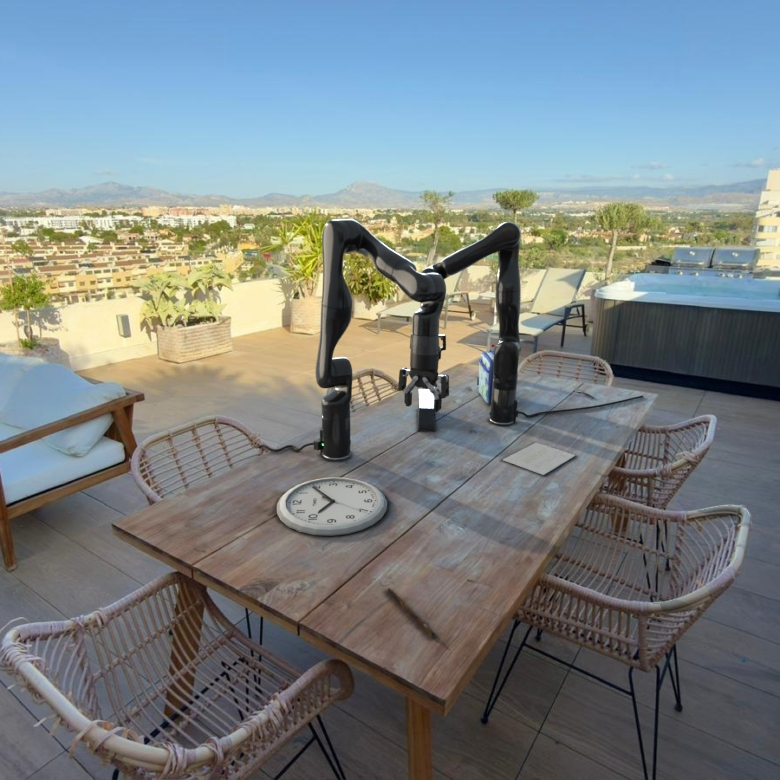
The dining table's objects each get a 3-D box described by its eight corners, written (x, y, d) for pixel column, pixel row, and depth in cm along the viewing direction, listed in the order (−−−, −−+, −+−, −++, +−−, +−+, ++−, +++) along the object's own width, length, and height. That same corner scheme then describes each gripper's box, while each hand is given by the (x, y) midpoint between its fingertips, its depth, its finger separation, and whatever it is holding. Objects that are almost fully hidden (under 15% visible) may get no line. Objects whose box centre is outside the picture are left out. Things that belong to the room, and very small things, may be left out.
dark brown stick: (387, 592, 109) (387, 587, 109) (388, 591, 109) (388, 587, 109) (431, 637, 97) (431, 633, 97) (433, 636, 97) (433, 632, 97)
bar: (417, 409, 219) (418, 388, 216) (432, 410, 218) (433, 389, 216) (418, 431, 196) (419, 408, 193) (434, 431, 196) (435, 408, 193)
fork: (592, 399, 235) (592, 395, 235) (571, 389, 250) (572, 385, 249) (597, 399, 236) (597, 394, 235) (576, 388, 251) (576, 384, 250)
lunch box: (475, 390, 246) (478, 346, 240) (498, 390, 246) (501, 347, 240) (484, 408, 221) (487, 360, 215) (509, 409, 221) (513, 360, 215)
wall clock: (392, 527, 129) (268, 531, 127) (391, 533, 130) (269, 537, 127) (383, 473, 158) (282, 475, 155) (383, 478, 158) (282, 480, 156)
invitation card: (535, 442, 186) (575, 454, 176) (535, 442, 187) (575, 455, 176) (502, 459, 172) (543, 474, 162) (502, 460, 172) (543, 475, 162)
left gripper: (394, 349, 138) (393, 407, 143) (443, 357, 131) (440, 417, 136) (407, 344, 144) (406, 400, 149) (455, 351, 138) (452, 409, 142)
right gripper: (410, 320, 200) (409, 361, 205) (447, 321, 199) (445, 362, 204) (410, 317, 207) (409, 357, 212) (446, 318, 206) (444, 358, 211)
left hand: (422, 408), depth 143 cm, fingers open, 8 cm apart
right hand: (427, 360), depth 208 cm, fingers open, 8 cm apart
